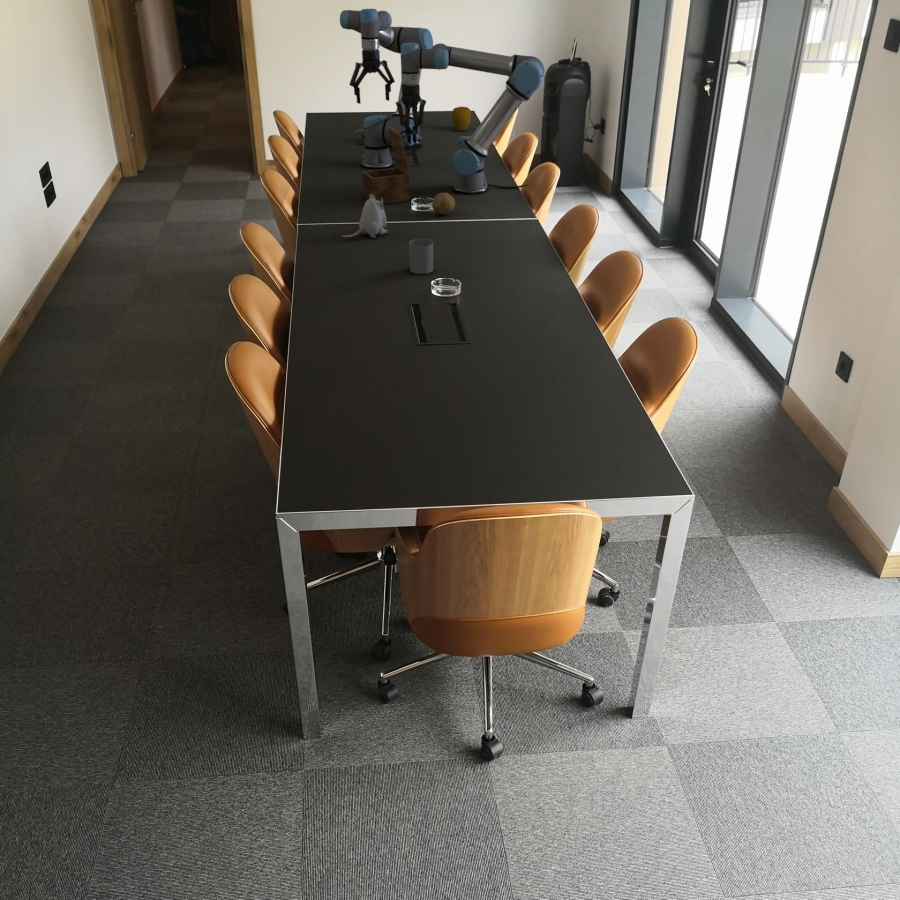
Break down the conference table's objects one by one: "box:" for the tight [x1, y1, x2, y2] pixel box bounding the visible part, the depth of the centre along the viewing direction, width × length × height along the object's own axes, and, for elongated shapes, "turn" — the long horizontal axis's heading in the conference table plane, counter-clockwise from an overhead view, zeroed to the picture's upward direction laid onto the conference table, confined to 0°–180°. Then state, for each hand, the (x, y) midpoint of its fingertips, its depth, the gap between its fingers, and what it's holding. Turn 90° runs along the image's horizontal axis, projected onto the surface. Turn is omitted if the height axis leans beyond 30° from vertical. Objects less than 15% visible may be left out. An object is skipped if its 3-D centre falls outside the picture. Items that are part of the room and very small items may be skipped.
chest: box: [362, 167, 411, 205], centre depth 377 cm, size 17×12×11 cm
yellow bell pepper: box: [451, 105, 472, 132], centre depth 487 cm, size 11×11×13 cm
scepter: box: [352, 128, 365, 145], centre depth 467 cm, size 6×13×30 cm
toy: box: [341, 194, 389, 239], centre depth 333 cm, size 9×24×15 cm, turn 137°
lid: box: [388, 127, 417, 174], centre depth 373 cm, size 17×12×9 cm
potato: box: [431, 192, 456, 216], centre depth 360 cm, size 10×14×8 cm
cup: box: [408, 237, 434, 275], centre depth 305 cm, size 8×8×10 cm
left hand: (373, 101), depth 383 cm, fingers open, 13 cm apart
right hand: (411, 142), depth 372 cm, fingers closed on lid, 2 cm apart
